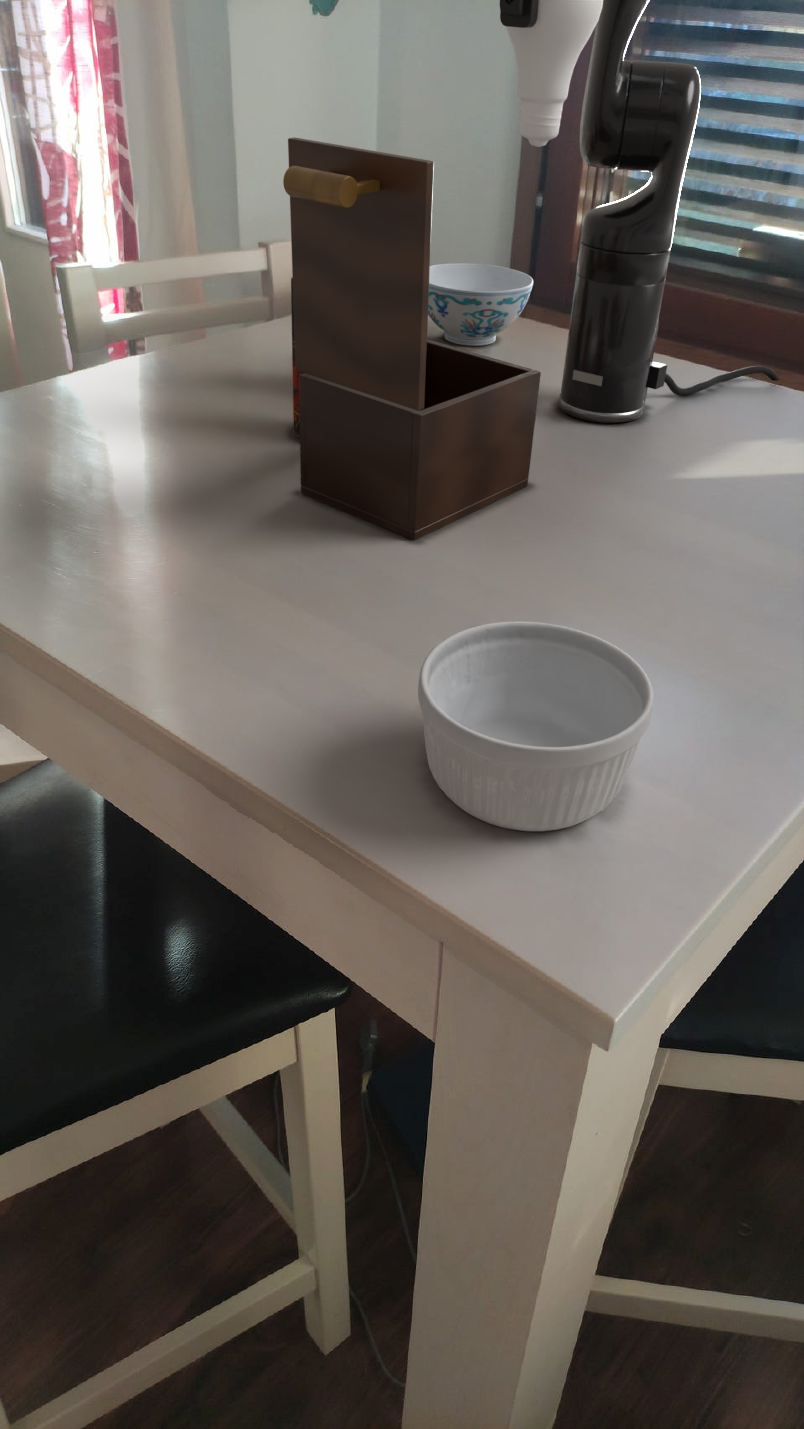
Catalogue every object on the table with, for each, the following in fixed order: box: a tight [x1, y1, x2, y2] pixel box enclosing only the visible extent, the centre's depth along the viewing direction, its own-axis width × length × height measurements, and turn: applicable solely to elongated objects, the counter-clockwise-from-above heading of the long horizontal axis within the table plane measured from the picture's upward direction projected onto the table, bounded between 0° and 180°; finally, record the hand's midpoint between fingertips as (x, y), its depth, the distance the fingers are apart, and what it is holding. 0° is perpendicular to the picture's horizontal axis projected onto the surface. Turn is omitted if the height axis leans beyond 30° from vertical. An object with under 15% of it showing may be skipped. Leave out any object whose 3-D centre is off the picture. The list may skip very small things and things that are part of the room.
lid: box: [282, 137, 435, 411], centre depth 79 cm, size 17×14×5 cm
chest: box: [299, 338, 542, 541], centre depth 95 cm, size 17×14×11 cm
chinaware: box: [428, 262, 534, 347], centre depth 137 cm, size 15×15×8 cm
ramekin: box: [417, 620, 655, 832], centre depth 61 cm, size 13×13×7 cm
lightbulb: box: [505, 0, 603, 148], centre depth 65 cm, size 6×6×11 cm
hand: (549, 25), depth 65 cm, fingers closed on lightbulb, 6 cm apart
